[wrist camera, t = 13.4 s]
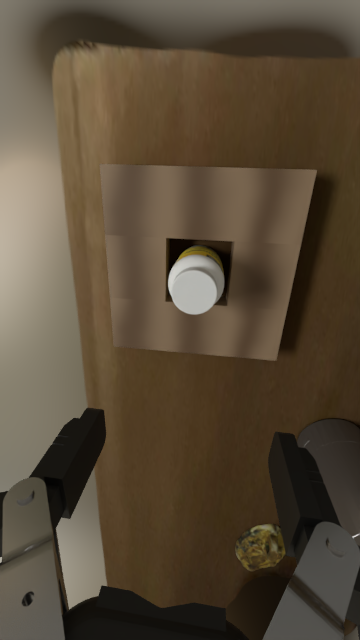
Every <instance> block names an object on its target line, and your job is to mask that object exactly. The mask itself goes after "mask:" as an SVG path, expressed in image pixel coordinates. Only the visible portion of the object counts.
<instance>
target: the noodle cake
mask: <svg viewBox="0 0 360 640" xmlns="http://www.w3.org/2000/svg"><path fill="white" fill-rule="evenodd" d="M235 551H236V555H237V557H238V559H239V560H240V562H241V563H242V565H243V566H244V567H245V568H246V569H248V570H250V571H254V570H258V569H260V568H265V567H270V566H275V565H276V563H278V562H279V561H280V560H281V559H282V558H283V557H284V555H285V554H286V553H285V548H284V543H283V538H282V533H281V529H280V528H279V527H278V526H277V525H275V524H265V525H259V526H255V527H253V528H250V529H249V530H247V531H245V532H244V533H243V534H242V536H241V537H240V539H239V540H237V542H236V545H235Z"/></svg>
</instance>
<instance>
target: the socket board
mask: <svg viewBox="0 0 360 640" xmlns="http://www.w3.org/2000/svg"><path fill="white" fill-rule="evenodd" d="M316 173H317V170H301V169H264V168H228V167H191V166H155V165H118V164H100V175H101V188H102V201H103V214H104V227H105V239H106V252H107V265H108V278H109V291H110V304H111V317H112V330H113V343H114V347H126V348H137V349H149V350H160V351H172V352H183V353H195V354H206V355H218V356H229V357H241V358H252V359H264V360H275V361H276V359H277V355H278V350H279V345H280V341H281V336H282V331H283V327H284V322H285V317H286V313H287V308H288V303H289V299H290V294H291V289H292V285H293V280H294V275H295V271H296V266H297V261H298V257H299V252H300V247H301V243H302V238H303V233H304V229H305V224H306V219H307V215H308V210H309V205H310V201H311V196H312V191H313V187H314V182H315V177H316ZM170 238H176V239H195V240H215V241H232V248H231V257H230V266H229V275H228V284H227V293H226V297H220V298H219V300H218V301H217V302H216V303H215V304H214V305H213V306H212V308H210V309H209V310H208V311H206V312H204V313H202V314H196V315H193V314H187V313H185V312H183V311H181V310H180V309H179V308H178V307H177V306H176V305H175V304H174V302H173V299H172V296H171V294H170V293H169V288H168V279H169V274H170Z"/></svg>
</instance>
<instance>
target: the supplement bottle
mask: <svg viewBox="0 0 360 640" xmlns="http://www.w3.org/2000/svg"><path fill="white" fill-rule="evenodd" d="M168 288H169V292H170V294H171V296H172V299H173V302H174V304H175V305H176V306H177V307H178V308H179V309H180V310H181V311H183V312H185V313H187V314H193V315H196V314H202V313H204V312H206V311H208V310H209V309H210V308H212V306H213V305H214V304H215V303H216V302H217V301H218V300H219V298H220V297H221V295H222V293H223V289H224V272H223V266H222V262H221V259H220V257H219V256H218V254H217V253H216V252H215V251H214V250H213V249H211V248H209V247H207V246H202V245H197V246H192V247H190V248H188V249H186V250H185V251H184V252H183V253H182V254H181V255H180V256H179V258H178V259H177V261H176V263H175V264H174V266H173V267H172V269H171V271H170V274H169V279H168Z"/></svg>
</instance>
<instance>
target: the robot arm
mask: <svg viewBox="0 0 360 640" xmlns="http://www.w3.org/2000/svg"><path fill="white" fill-rule="evenodd" d="M105 439H106V427H105V416H104V410H102V409H94V408H87V409H86V410H85V411H84V413H83V414H82V416H81V417H80V419H79V418H73V419H72V420H71V421H69V422H68V423H67V424H66V425H64V427H63V428H62V430H61V431H60V433H59V434H58V437H56V439H55V440H54V442H53V444H52V445H51V446H50V448H49V449H48V450H47V452H46V454H45V455H44V456H43V458H42V459H41V461H40V462H39V464H38V465H37V467H36V468H35V470H34V471H33V472H32V474H31V475H30V477H29V478H27V479H24V480H22V481H20V482H18V483H17V484H15V485H14V486H13V487H12V488H11V489H10V490H9V491H6V492H1V493H0V557H2V562H1V563H0V640H249V639H248V638H247V637H246V636H245V635H244V634H243V633H242V632H241V631H240V630H239V629H238V628H237V627H236V626H234V625H233V624H232V623H230V622H228V621H227V620H226V609H225V608H220V607H215V606H209V605H204V604H198V603H189V604H184V605H178V606H172V607H167V608H159V607H157V606H156V605H154V604H152V603H151V602H149V601H147V600H146V599H144V598H142V597H140V596H139V595H137V594H135V593H134V592H132V591H129V590H123V589H118V588H113V587H107V586H101V589H100V593H99V596H97V597H93V598H90V599H87V600H85V601H83V602H81V603H79V604H77V605H76V606H74V607H72V608H71V609H70V610H69V607H68V601H67V595H66V590H65V585H64V579H63V572H62V566H61V559H60V552H59V545H58V539H57V532H56V527H57V525H58V523H59V521H60V519H61V517H62V518H68V519H70V518H71V515H72V513H73V511H74V509H75V507H76V505H77V503H78V501H79V498H80V496H81V494H82V492H83V490H84V488H85V485H86V483H87V481H88V479H89V477H90V475H91V472H92V470H93V468H94V466H95V464H96V461H97V459H98V457H99V455H100V453H101V451H102V448H103V446H104V443H105ZM268 466H269V473H270V478H271V483H272V488H273V493H274V498H275V503H276V508H277V513H278V518H279V523H280V528H281V533H282V538H283V543H284V548H285V553H286V556H291V557H296V561H297V568H296V570H295V572H294V574H293V576H292V578H291V580H290V582H289V584H288V586H287V588H286V591H285V593H284V595H283V597H282V599H281V601H280V603H279V606H278V608H277V610H276V612H275V614H274V616H273V618H272V621H271V623H270V625H269V627H268V629H267V632H266V634H265V636H264V638H263V640H342V639H343V636H344V629H345V628H344V626H343V625H344V620H345V618H347V619H348V620H350V621H352V622H354V623H355V624H357V626H358V634H359V640H360V429H359V428H358V427H357V426H356V425H354V424H353V423H351V422H349V421H345V420H341V419H326V420H321V421H318V422H315V423H313V424H311V425H309V426H308V427H306V428H305V429H304V430H303V431H302V432H301V434H300V435H299V437H298V441H297V442H296V439H295V436H294V435H293V434H290V433H282V432H275V434H274V437H273V441H272V445H271V449H270V453H269V459H268Z"/></svg>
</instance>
